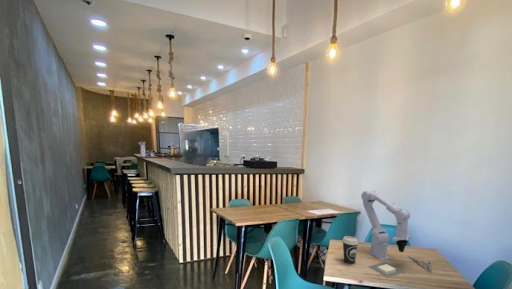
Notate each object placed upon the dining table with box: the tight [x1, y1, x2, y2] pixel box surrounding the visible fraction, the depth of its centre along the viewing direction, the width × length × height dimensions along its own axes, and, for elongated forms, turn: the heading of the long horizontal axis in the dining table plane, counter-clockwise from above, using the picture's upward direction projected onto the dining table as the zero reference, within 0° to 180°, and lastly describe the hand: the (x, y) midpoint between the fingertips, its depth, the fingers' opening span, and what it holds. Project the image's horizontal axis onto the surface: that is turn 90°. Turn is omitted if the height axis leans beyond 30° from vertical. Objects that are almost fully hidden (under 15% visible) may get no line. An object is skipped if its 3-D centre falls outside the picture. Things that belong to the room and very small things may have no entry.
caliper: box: [407, 255, 433, 274], centre depth 153 cm, size 20×1×6 cm, turn 0°
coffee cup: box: [341, 235, 359, 265], centre depth 153 cm, size 10×10×15 cm
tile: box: [377, 264, 396, 275], centre depth 143 cm, size 6×2×8 cm
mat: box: [367, 261, 406, 279], centre depth 145 cm, size 13×16×1 cm
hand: (401, 251), depth 149 cm, fingers closed
